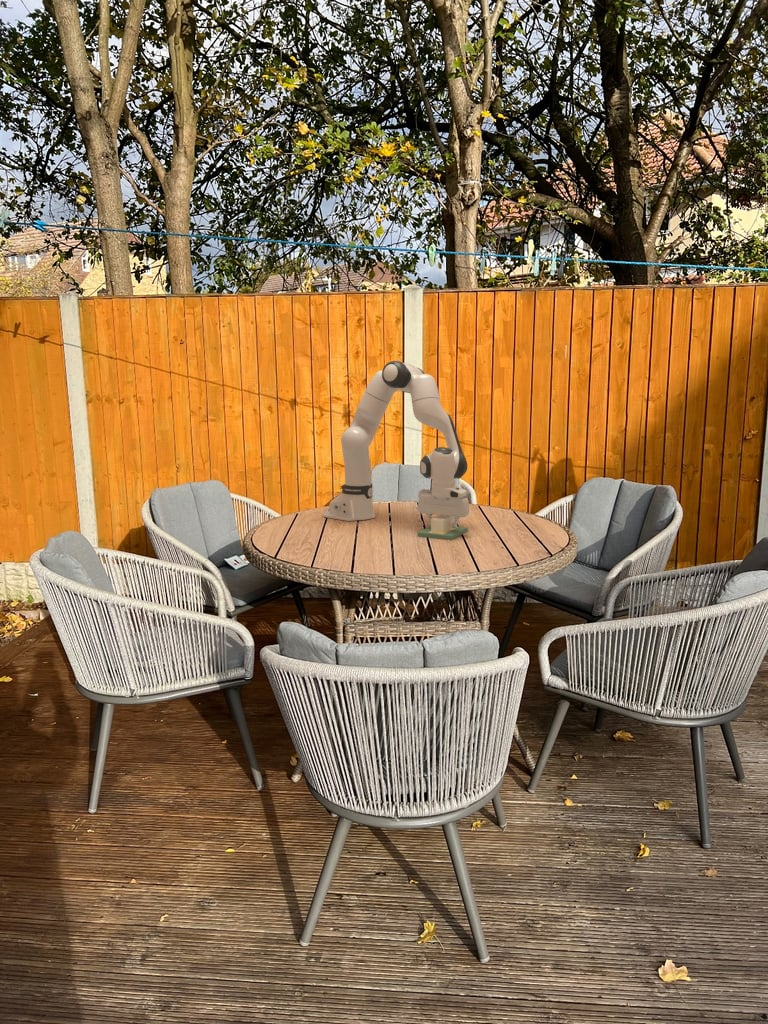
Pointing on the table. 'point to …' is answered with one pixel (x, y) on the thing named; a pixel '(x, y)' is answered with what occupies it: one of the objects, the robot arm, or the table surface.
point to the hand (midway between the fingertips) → (443, 526)
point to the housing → (442, 523)
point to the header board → (447, 535)
